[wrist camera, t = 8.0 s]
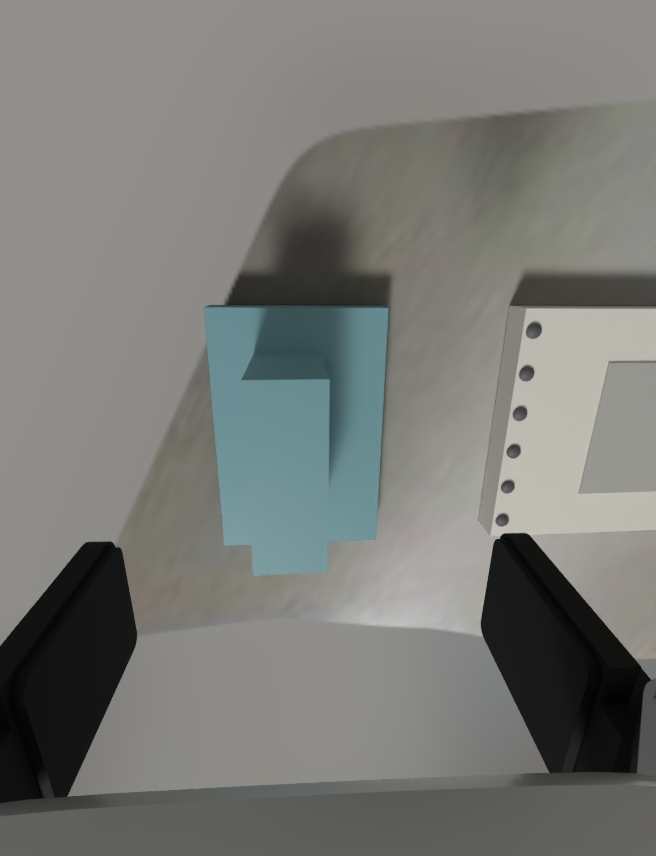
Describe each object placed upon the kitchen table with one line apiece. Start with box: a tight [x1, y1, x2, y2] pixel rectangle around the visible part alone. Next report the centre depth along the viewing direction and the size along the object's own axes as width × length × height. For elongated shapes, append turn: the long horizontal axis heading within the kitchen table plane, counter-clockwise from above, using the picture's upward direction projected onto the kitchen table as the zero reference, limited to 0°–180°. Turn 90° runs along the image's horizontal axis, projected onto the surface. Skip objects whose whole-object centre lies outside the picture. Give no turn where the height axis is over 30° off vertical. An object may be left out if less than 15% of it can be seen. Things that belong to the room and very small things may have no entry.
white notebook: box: [478, 306, 656, 536], centre depth 23 cm, size 14×12×2 cm
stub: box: [204, 305, 388, 576], centre depth 19 cm, size 8×12×6 cm, turn 0°
